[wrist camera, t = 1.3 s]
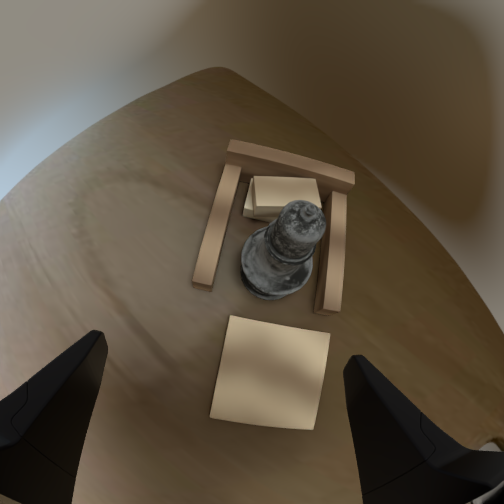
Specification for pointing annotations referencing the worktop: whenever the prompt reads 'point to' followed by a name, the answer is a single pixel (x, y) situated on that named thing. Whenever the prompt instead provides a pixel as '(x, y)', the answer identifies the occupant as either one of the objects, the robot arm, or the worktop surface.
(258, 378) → the cork mat
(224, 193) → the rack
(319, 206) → the offcut upper
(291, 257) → the grey chess piece
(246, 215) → the offcut lower
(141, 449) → the worktop surface
